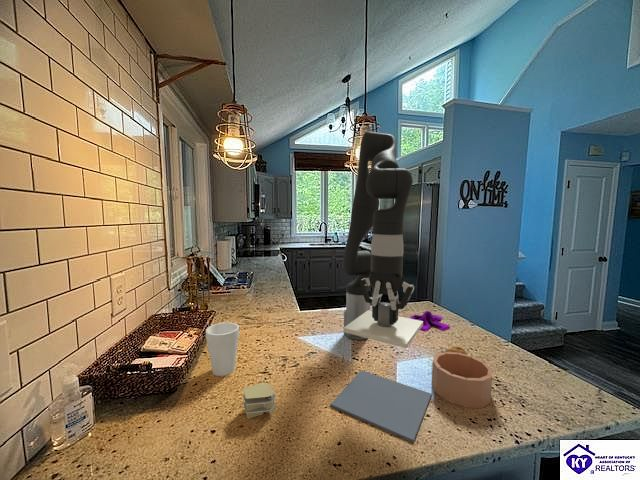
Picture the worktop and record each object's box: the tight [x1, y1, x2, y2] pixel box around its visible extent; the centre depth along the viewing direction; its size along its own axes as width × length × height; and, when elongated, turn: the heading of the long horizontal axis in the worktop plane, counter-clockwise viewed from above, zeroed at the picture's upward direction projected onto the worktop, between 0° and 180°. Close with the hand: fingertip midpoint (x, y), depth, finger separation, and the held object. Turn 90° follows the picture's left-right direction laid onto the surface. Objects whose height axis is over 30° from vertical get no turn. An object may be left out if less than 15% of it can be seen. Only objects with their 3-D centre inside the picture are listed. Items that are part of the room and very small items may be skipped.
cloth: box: [409, 310, 451, 332], centre depth 122 cm, size 22×19×6 cm
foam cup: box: [205, 322, 240, 377], centre depth 83 cm, size 10×9×13 cm
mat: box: [329, 369, 432, 443], centre depth 71 cm, size 20×18×1 cm
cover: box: [342, 301, 423, 349], centre depth 69 cm, size 15×15×6 cm
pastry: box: [444, 346, 468, 355], centre depth 90 cm, size 9×7×4 cm
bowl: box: [431, 351, 493, 409], centre depth 75 cm, size 14×14×7 cm
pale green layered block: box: [242, 382, 277, 420], centre depth 66 cm, size 10×9×6 cm
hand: (384, 321), depth 69 cm, fingers closed on cover, 3 cm apart
